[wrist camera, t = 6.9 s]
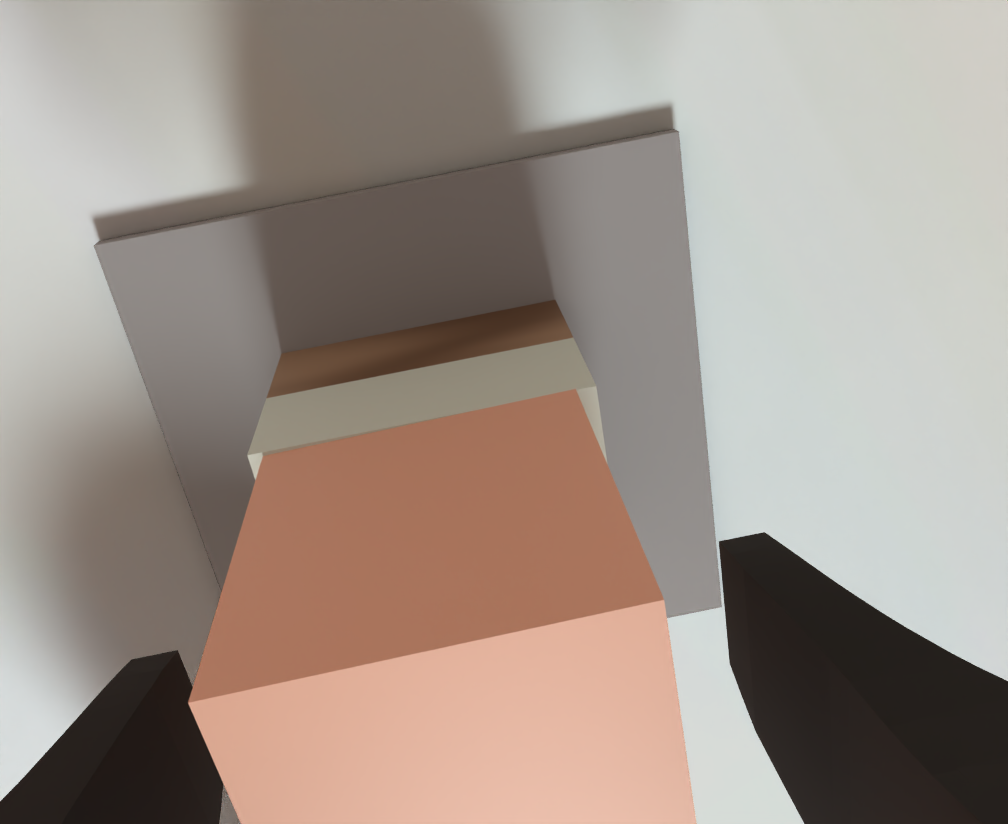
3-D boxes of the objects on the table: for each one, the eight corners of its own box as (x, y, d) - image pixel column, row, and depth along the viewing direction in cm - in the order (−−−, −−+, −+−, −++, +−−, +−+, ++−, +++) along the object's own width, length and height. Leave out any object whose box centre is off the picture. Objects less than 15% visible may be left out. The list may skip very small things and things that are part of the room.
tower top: (573, 337, 15) (596, 386, 13) (611, 590, 17) (636, 661, 15) (266, 398, 15) (247, 455, 13) (343, 644, 17) (335, 722, 15)
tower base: (555, 300, 17) (573, 337, 15) (592, 532, 19) (611, 590, 17) (281, 353, 17) (266, 398, 15) (348, 580, 19) (343, 644, 17)
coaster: (674, 129, 16) (678, 132, 16) (717, 598, 20) (721, 607, 20) (99, 241, 16) (94, 245, 16) (263, 690, 20) (261, 699, 20)
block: (575, 388, 13) (663, 599, 9) (618, 639, 15) (710, 919, 11) (262, 456, 13) (187, 702, 9) (345, 698, 15) (320, 1004, 11)
